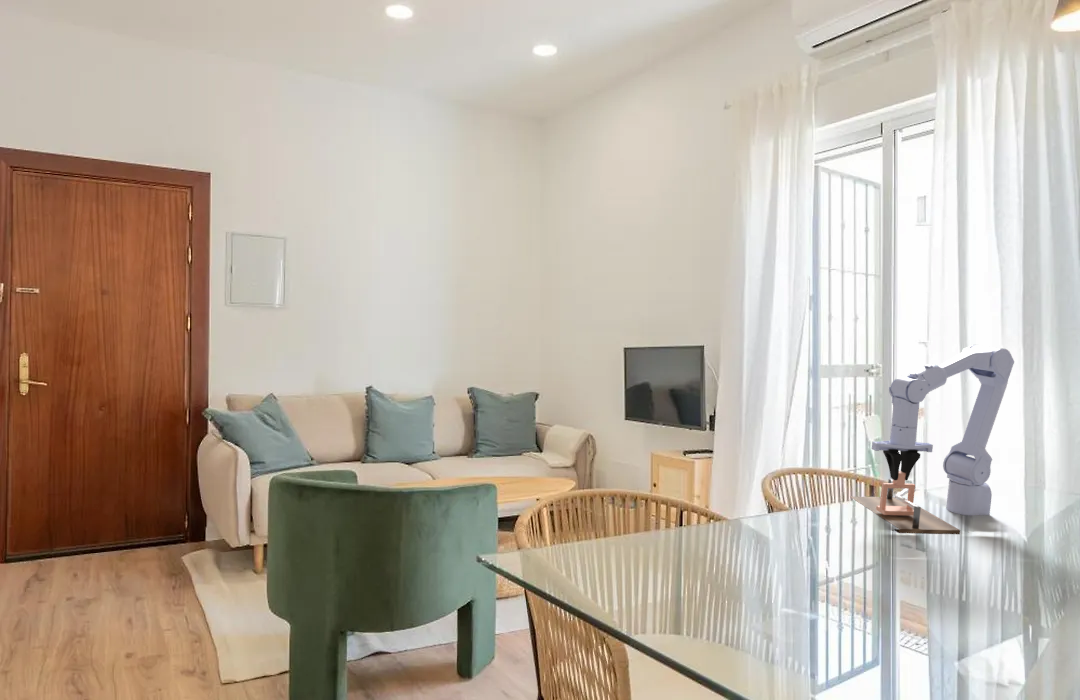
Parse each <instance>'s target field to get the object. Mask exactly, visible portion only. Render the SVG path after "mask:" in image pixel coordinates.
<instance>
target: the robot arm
mask: <svg viewBox="0 0 1080 700" xmlns="http://www.w3.org/2000/svg"><path fill="white" fill-rule="evenodd" d="M1014 365H1015V360H1014V358H1013V356H1012V354H1011V352H1010V351H1009V350H1008V349H1006V348H997V347H990V346H983V345H979V344H971V345H969V346H967V347H963V348H962V350H961V352H960V353H958V354H956V355H955V356H953V357H952V358H950V359H948V360H946V361H945V362H943V363H941V364H940V365H938V364H933V363H932V364H929V363H927V364H925V365H924V367H923V368H921V369H919V370H917V371H915V372H910V373H909V374H908V375H907V376H898V377H897V378H895V379H894V380H893V381H892V382H891V385H890V386H889V387H888V393H889V394H890V396H891V404H892V415H891V426H890V436H889V437H890V438H889V440H880V441H872V442H871V449H872V450H873V451H876V452H877V451H878V452H879V451H882V452H883V454H884V456H885V460H886V462H887V465H888V469H889V476H890V479H893V480H898V475H899V471H902V472H904V473H906V476H905V481H908V479H909V477H910V474H911V472H912V470H913V468H914V466H915V465H916V464H917V462H918V461H919V459H920V458H921V453H920V452H926V453H933V447H934V444H932V443H929V442H919V441H917V433H918V420H919V412H920V411H919V409H920V403H922V402H923V401H924V400H925V399H926V396H927V395H928V394H929V393H930V392H933V391H934V390H936V389H939V388H940V387H943V386H944V385H945V384H946V383H947V380H948V378H950V377H953V376H955V375H957V374H960V373H962V372H965V371H967V370H969V372H970V373H972V375H974V377H976V379H978V381H979V383H980V388H979V391H978V393H977V397H976V399H975V402H974V405H973V407H972V411H971V414H970V417H969V420H968V423H967V425H966V428H965V431H964V434H963V437H962V440H961V441H960V442H958V443H956V444H954V445H952V446H951V447H950V451H949V453H948V454H947V455H946V456H945V458H944V459H943V463H942V468H943V471H944V473H945V474H946V478H947V479H948V488H947V498H946V506H945V507H946V508H945V509H946V510H947V511H949V512H951V513H953V514H958V515H963V516H989V515H990V514H991V504H992V494H993V493H992V490H991V487H990V486H989V484H988V483H986V482H987V481H988V480H989V478H990V475H991V473H992V472H991V470H992V469H991V465H992V461H993V457H992V456H991V455H990V453H989V452H988V451H987V449H986V447H987V445H988V442H989V438H990V436H991V433H992V430H993V426H994V424H995V421H996V418H997V415H998V412H999V410H1000V407H1001V404H1002V401H1003V398H1004V395H1005V393H1006V389H1007V385H1008V384H1009V383H1008V382H1009V379H1010V375H1011V373H1012V370H1013V367H1014ZM971 456H973V457H971ZM900 466H901V467H900Z"/></svg>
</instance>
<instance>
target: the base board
mask: <svg viewBox="0 0 1080 700" xmlns="http://www.w3.org/2000/svg"><path fill="white" fill-rule="evenodd" d="M850 498H852V499H853V500H854V501H856V502H858V503H859V504H860V505H862V506H864V507H865V508H866V509H868V510H869V511H871V512H872V513H874V514H876V515H877V516H879V517H880V518H881V519H883V520H884V521H886V522H888V523H889V524H891V525H892V526H893V527H896V528H893V530H894V531H895V532H896V533H898V534H928V535H931V534H932V535H961V529H960V528H957V527H956V526H953V525H952V524H950V523H949V522H947V521H946V520H944V519H941V518H940V517H938V516H936V515H934V514H933V513H931V512H930V511H929V510H925V509H924V508H923V507H921V510H920V520H919V529H914V528H912V524H913V515H884V514H882V513H881V512H879V511H878V510H876V506H880V498H881V496H880V497H879V496H850ZM905 499H906V500H907V499H908V498H905ZM913 504H915V503H914V502H913ZM915 505H917V504H915ZM886 506H907V505H906V504H904V503H903V502H901V501H899V500H898V499H896V498H895V496H894V497H893V499H886ZM913 510H914V509H913Z"/></svg>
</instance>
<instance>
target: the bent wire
mask: <svg viewBox="0 0 1080 700" xmlns="http://www.w3.org/2000/svg"><path fill="white" fill-rule="evenodd" d="M887 483H893V479H892V478H888V481H887ZM899 489H901V491H900V492H898V493H896V494H895V495H894V488H888V489H887V499H893V496H894V498H896V499H898V500H899V501H901V502H903V503H904V504H906V505H908V506H910V507H911V508H913V509H914V514H913V524H912V528H914V529H919V520H920V510H921V508H922V507H921V506H919V505H917V504H916V505H915V503H914V502H913V503H914V504H913V503H912V502H910V501H908V500H906V499H907V498H905V497H903V496H905V495H906V494H907V495H908V490H909V489H905V488H899Z"/></svg>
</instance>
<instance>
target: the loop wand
mask: <svg viewBox="0 0 1080 700" xmlns="http://www.w3.org/2000/svg"><path fill="white" fill-rule="evenodd" d="M905 476H906V473H904V472H902V471H901V470H899V475H898V480H893V483H888V482H882V483H881V491H880V497H881V498H880V506H876V510H878V511H879V512H881V513H882V514H884V515H913V514H914V510H913V508H911V507H910V506H908V505H907V506H886V499H887V490H888V488H893V489H900V488H905V489H909V490H908V493H907V498H906V499H907V500H908V501H910V502H912V503H914V499H915V488H916V484H914V483H906V480H905Z"/></svg>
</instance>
